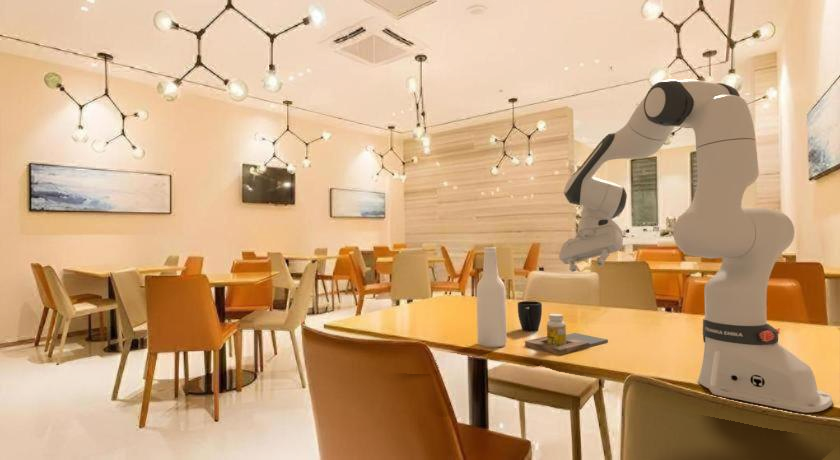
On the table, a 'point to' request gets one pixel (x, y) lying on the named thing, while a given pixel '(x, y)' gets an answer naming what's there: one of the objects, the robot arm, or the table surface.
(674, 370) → the table surface
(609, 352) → the table surface
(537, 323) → the mug
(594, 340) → the mat
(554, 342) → the supplement bottle
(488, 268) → the alcohol
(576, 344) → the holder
